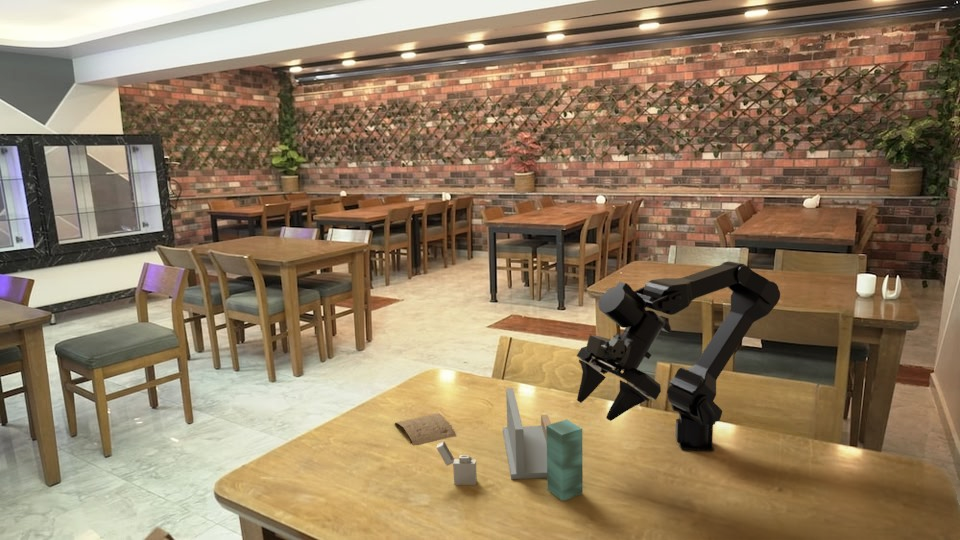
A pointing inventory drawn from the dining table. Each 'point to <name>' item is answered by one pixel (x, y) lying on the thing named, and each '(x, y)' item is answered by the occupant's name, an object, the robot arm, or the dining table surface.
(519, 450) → the grey bookend
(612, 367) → the robot arm
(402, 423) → the curved bark piece
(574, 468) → the teal block
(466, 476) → the lighter
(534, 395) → the dining table surface
